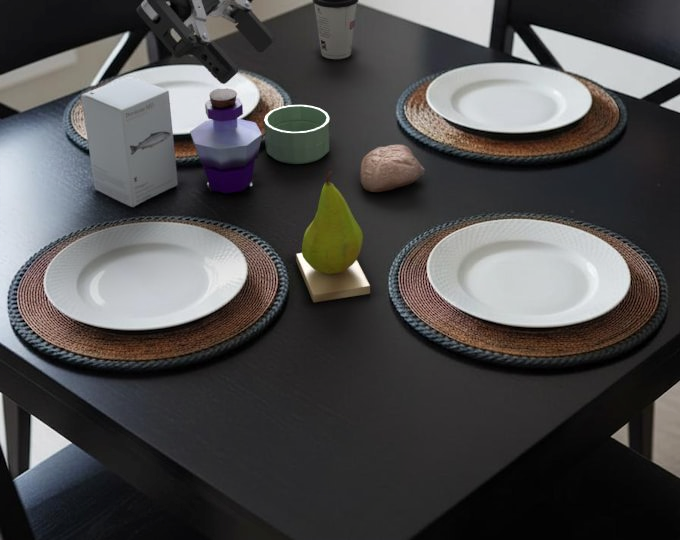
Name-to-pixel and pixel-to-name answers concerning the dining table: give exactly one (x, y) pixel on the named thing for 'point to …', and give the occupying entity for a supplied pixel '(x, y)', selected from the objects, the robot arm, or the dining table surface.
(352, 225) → the fruit
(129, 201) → the white packaging box
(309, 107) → the bowl
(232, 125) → the potion bottle
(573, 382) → the dining table surface
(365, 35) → the dining table surface
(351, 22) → the coffee cup
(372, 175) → the brown rounded lump
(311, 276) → the board
